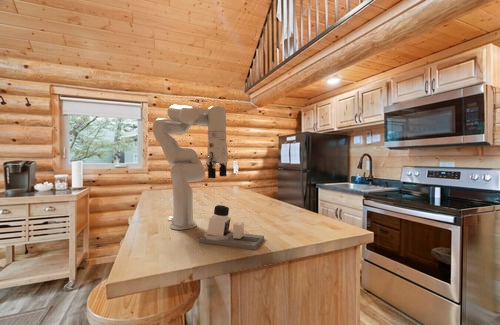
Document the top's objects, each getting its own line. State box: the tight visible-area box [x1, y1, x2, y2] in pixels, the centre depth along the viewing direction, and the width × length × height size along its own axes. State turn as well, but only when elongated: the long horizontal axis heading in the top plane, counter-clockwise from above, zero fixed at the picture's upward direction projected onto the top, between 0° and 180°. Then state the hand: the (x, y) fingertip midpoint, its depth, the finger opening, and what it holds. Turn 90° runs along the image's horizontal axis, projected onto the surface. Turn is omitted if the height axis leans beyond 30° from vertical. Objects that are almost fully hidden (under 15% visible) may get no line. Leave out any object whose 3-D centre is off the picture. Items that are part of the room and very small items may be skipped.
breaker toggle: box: [232, 221, 245, 239], centre depth 97 cm, size 3×4×6 cm
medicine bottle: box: [206, 204, 231, 237], centre depth 100 cm, size 7×7×12 cm
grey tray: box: [198, 229, 265, 251], centre depth 98 cm, size 24×12×3 cm, turn 70°
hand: (217, 177), depth 100 cm, fingers open, 9 cm apart
